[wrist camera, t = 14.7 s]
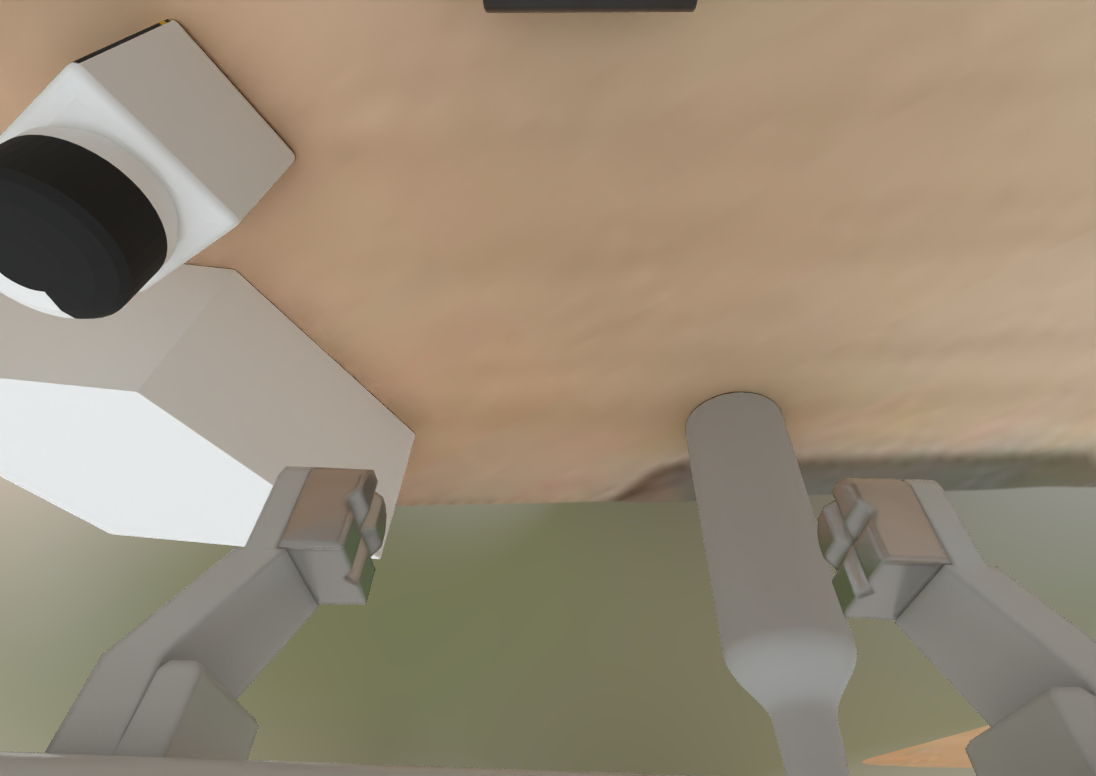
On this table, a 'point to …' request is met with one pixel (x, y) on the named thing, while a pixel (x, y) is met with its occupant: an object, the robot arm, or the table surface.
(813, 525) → the bottle
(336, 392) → the white rectangular box
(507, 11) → the drawer
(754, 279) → the table surface
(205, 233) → the medicine bottle
